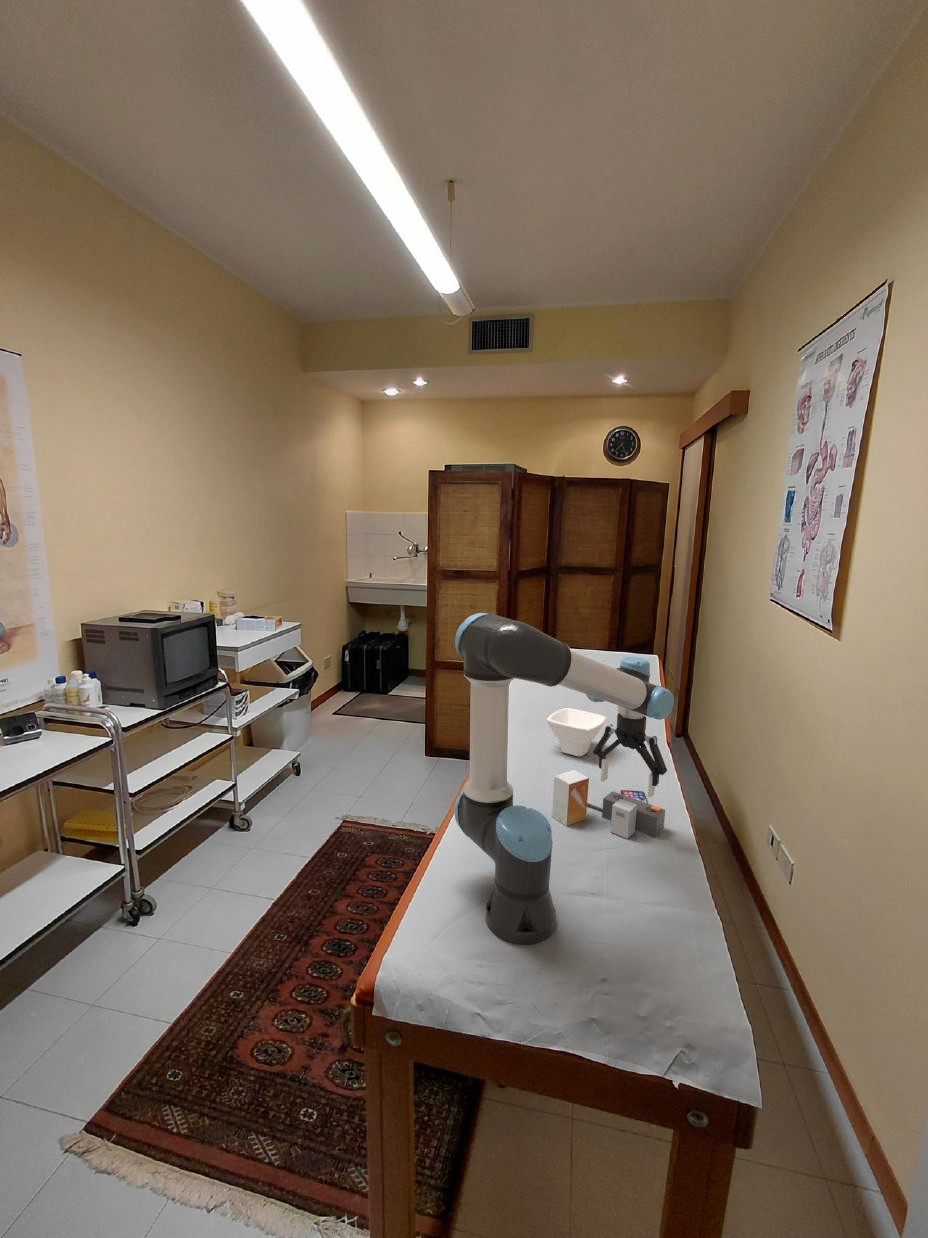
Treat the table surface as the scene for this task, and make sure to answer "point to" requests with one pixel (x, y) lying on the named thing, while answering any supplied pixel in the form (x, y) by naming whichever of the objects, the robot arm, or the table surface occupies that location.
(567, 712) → the bowl
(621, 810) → the block
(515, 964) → the table surface
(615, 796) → the power strip
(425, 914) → the table surface
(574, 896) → the table surface
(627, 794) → the smartphone
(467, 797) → the robot arm
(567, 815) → the small box
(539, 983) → the table surface
